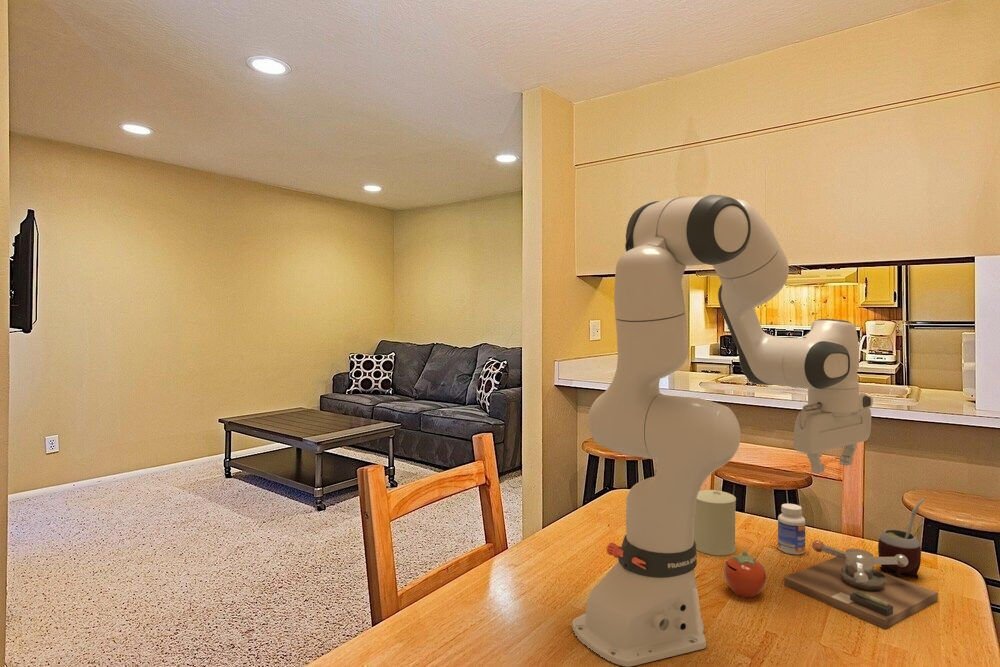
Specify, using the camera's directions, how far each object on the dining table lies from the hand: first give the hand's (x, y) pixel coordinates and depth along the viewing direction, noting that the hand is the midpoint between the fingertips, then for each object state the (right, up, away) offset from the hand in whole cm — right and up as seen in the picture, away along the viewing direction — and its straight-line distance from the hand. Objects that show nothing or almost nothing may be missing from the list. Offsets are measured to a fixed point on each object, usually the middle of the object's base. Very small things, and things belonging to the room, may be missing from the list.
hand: (832, 468), depth 116 cm
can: (-19, -21, +13) cm, 31 cm away
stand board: (0, -21, -8) cm, 23 cm away
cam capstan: (-1, -19, -6) cm, 20 cm away
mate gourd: (+13, -21, 0) cm, 25 cm away
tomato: (-21, -22, -8) cm, 31 cm away
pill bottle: (-3, -21, +11) cm, 24 cm away
